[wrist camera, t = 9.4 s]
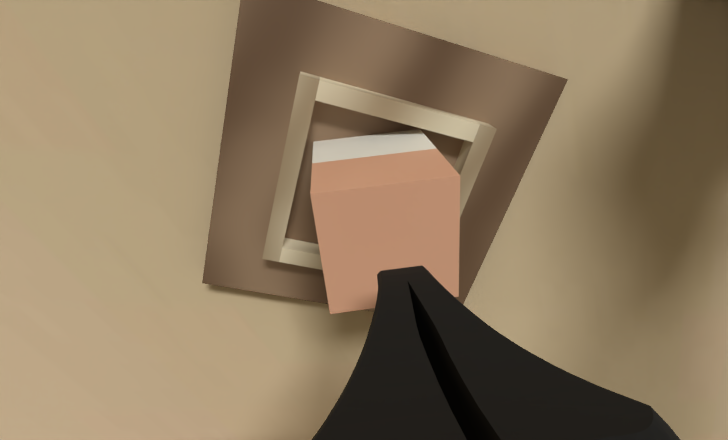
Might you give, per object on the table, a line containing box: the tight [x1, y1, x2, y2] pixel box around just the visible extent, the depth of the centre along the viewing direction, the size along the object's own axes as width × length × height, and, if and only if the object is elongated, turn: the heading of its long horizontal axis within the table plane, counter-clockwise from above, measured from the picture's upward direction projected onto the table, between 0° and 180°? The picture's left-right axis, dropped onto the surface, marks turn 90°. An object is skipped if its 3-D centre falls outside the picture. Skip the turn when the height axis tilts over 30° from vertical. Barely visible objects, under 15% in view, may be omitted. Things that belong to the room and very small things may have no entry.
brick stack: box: [310, 129, 460, 314], centre depth 17 cm, size 5×5×6 cm
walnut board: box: [202, 0, 568, 311], centre depth 20 cm, size 14×14×2 cm
